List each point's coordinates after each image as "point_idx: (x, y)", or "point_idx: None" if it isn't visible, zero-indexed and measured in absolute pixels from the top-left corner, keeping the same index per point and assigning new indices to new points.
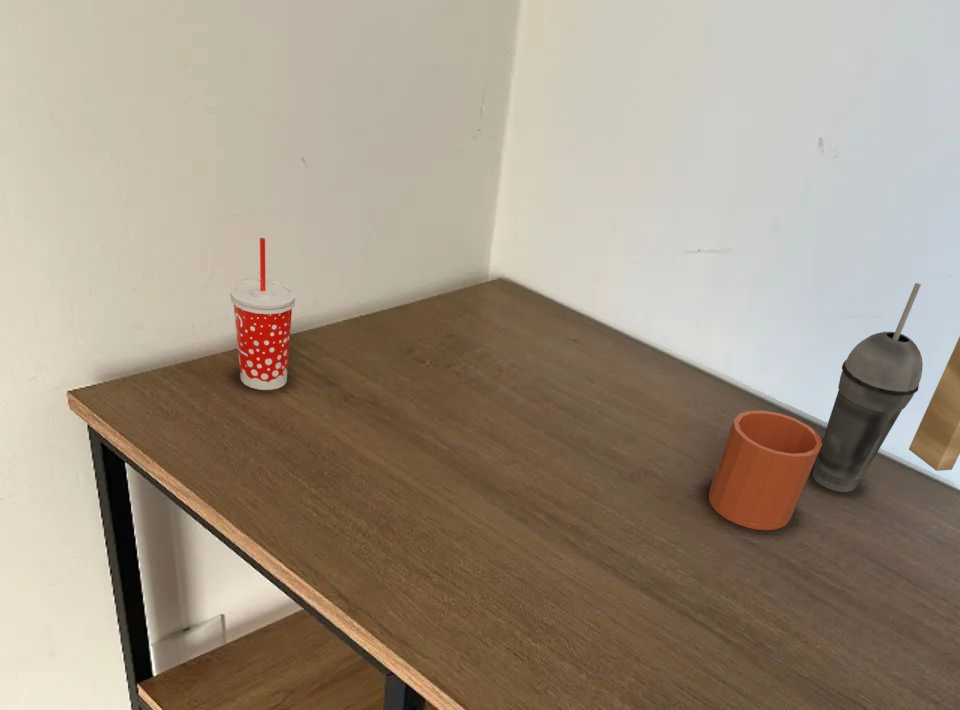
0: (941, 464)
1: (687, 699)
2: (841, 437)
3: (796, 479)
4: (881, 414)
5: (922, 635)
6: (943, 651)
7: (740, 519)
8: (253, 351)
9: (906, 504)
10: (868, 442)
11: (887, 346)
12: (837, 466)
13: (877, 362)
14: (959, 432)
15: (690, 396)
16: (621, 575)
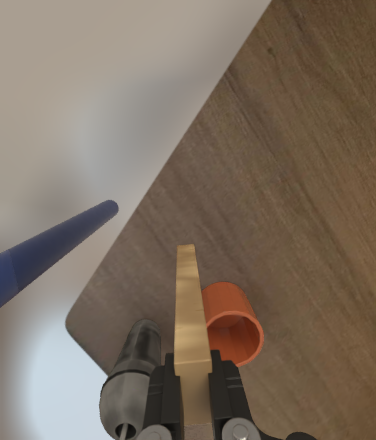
0: (192, 246)
1: (349, 141)
2: (158, 350)
3: (222, 301)
4: (139, 358)
5: (173, 180)
6: (168, 165)
7: (240, 289)
8: None
9: (105, 306)
10: (142, 342)
11: (141, 418)
12: (155, 333)
13: None
14: (190, 258)
15: None
16: (336, 244)
